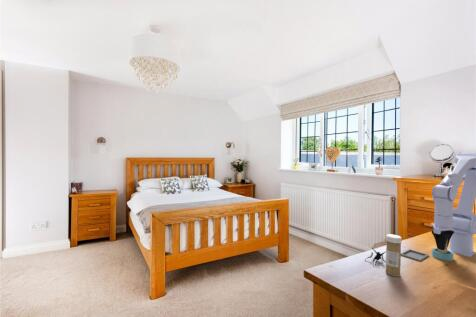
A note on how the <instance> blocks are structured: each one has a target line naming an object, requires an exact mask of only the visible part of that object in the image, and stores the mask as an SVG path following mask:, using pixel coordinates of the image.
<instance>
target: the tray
mask: <svg viewBox="0 0 476 317" xmlns="http://www.w3.org/2000/svg"><path fill="white" fill-rule="evenodd" d="M429 255H430V254H429V253H424V252H421V251H417V250H413V249H410V248H408V249H407V250H404V251H403V252H401V257H404V258H408V259H410V260H414V261H417V262H422V261H424V260H425V259H427V258H428V257H430V256H429Z"/></svg>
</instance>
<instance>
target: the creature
mask: <svg viewBox="0 0 476 317" xmlns="http://www.w3.org/2000/svg"><path fill="white" fill-rule="evenodd" d="M370 248H371V249H372V250H373V251H374V252H371V255H370V256H368V257H366V258H365V259H364V261H365V262H367V261H366V259H368V258H369V259H370V258H373V259H372V263H373V264H372V265H375V266H376V265H377V263H378V261H379V260H381V266H383V267H384V265H383V264H384V263H386V259H385V258H384V254H385V253H386V251H384V252H382V253H380V252H379V251H376V250H375V249H374V248H373V247H370ZM374 253H375V254H376V255H375V256H374V257H373V255H374ZM384 259H385V260H384ZM373 260H374V261H373ZM374 263H375V264H374Z"/></svg>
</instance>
